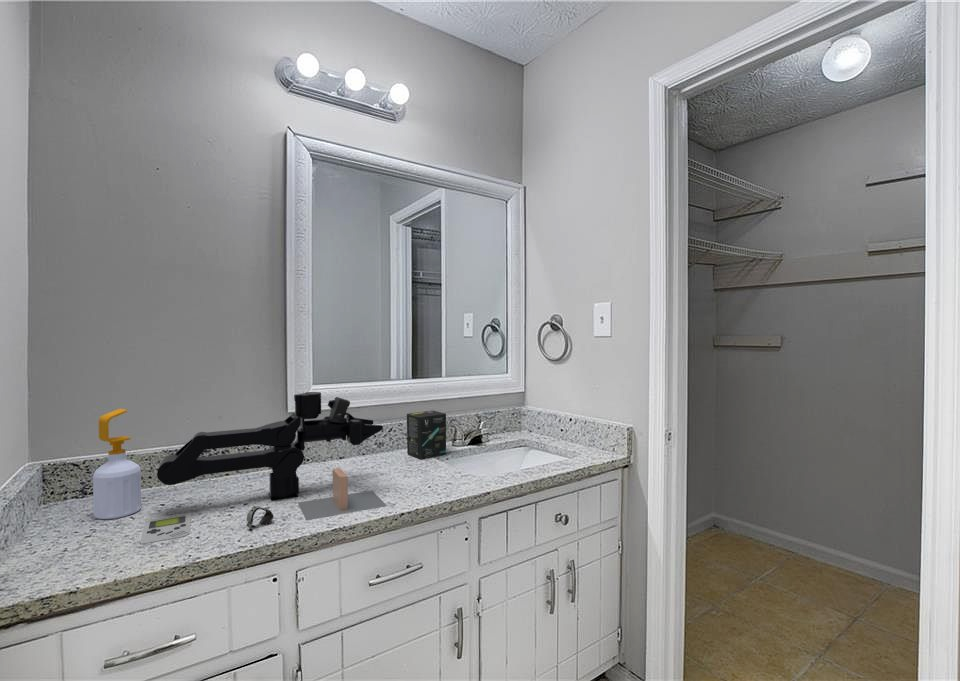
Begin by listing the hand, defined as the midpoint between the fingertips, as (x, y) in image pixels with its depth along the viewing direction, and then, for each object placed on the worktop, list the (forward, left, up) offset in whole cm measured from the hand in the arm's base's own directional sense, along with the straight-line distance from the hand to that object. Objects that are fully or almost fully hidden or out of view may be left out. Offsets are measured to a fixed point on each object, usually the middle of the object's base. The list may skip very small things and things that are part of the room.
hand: (377, 424), depth 139 cm
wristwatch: (-32, -18, -17) cm, 41 cm away
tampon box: (+24, +22, -17) cm, 37 cm away
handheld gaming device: (-50, -9, -17) cm, 54 cm away
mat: (-13, -14, -16) cm, 25 cm away
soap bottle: (-61, +7, -17) cm, 64 cm away
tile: (-14, -14, -16) cm, 25 cm away
